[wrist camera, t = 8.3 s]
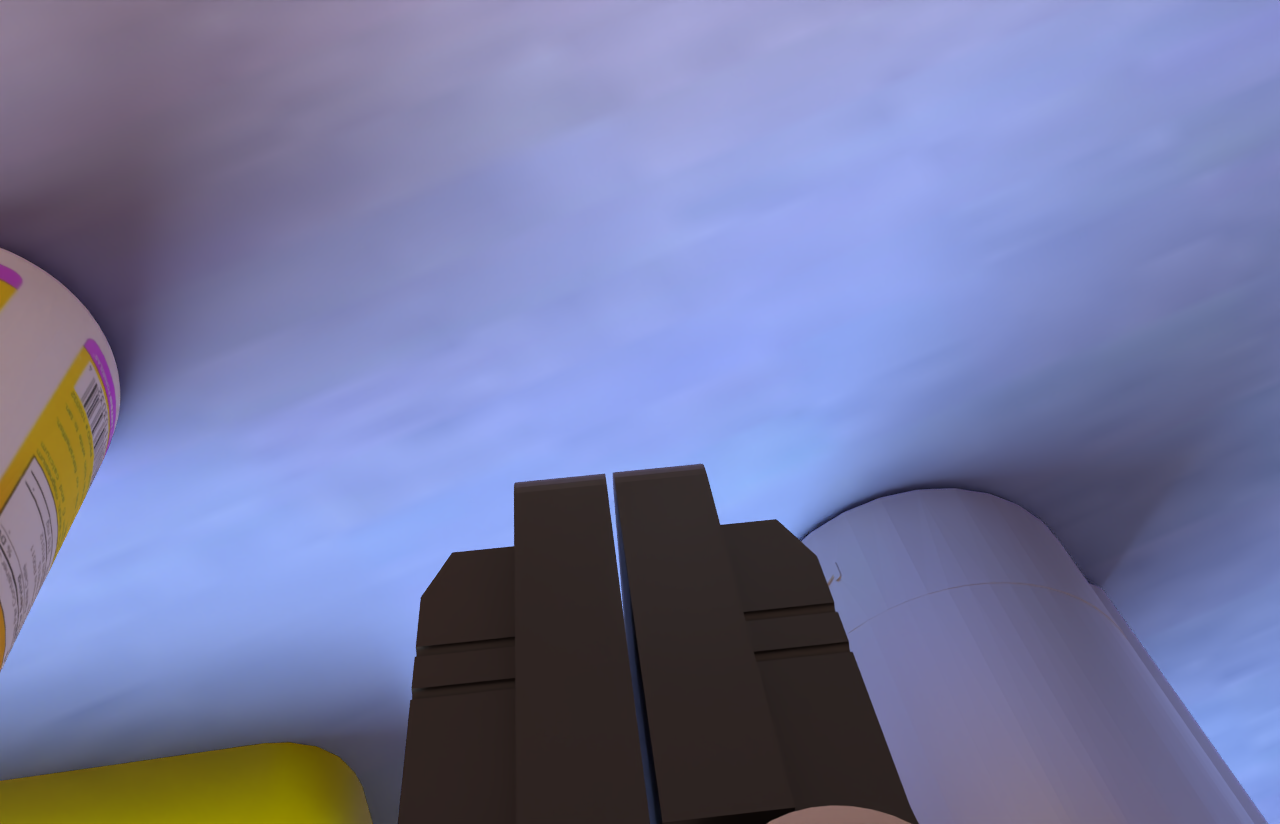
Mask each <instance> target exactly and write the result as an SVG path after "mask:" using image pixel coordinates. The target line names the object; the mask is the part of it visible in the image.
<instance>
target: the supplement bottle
mask: <svg viewBox="0 0 1280 824" xmlns="http://www.w3.org/2000/svg"><path fill="white" fill-rule="evenodd" d="M119 409H120V383H119V375H118V370H117V365H116V362H115V359H114V356H113V353H112V350H111V348H110V345H109V343H108V341H107V339H106V337H105V335H104V334H103V332H102V330H101V328H100V327H99V325H98V323H97V322H96V321H95V319H94V318H93V316H92V315H91V314H90V312H89V311H88V310H87V308H86V307H85V306H84V305H83V304H82V303H81V302H80V301H79V300H78V298H77V297H76V296H74V295H73V294H72V293H71V292H70V291H69V290H68V289H67V288H66V287H65V286H64V285H63V284H61V283H60V282H59V281H58V280H56V279H55V278H54V277H53V276H51V275H50V274H48V273H47V272H45V271H44V270H42V269H41V268H39V267H38V266H36V265H34V264H33V263H31V262H29V261H27V260H26V259H24V258H22V257H20V256H18V255H16V254H14V253H12V252H9V251H7V250H4V249H2V248H0V671H1V669H2V667H3V665H4V663H5V662H6V659H7V657H8V655H9V653H10V651H11V649H12V647H13V644H14V642H15V640H16V638H17V636H18V634H19V632H20V630H21V628H22V626H23V624H24V622H25V620H26V617H27V615H28V613H29V611H30V609H31V607H32V605H33V603H34V601H35V599H36V597H37V595H38V593H39V590H40V588H41V586H42V584H43V582H44V580H45V578H46V576H47V575H48V573H49V571H50V569H51V566H52V564H53V562H54V560H55V558H56V556H57V554H58V552H59V550H60V548H61V546H62V544H63V541H64V540H65V538H66V536H67V533H68V531H69V529H70V527H71V525H72V523H73V521H74V519H75V517H76V515H77V513H78V511H79V509H80V507H81V505H82V503H83V501H84V499H85V496H86V494H87V492H88V490H89V488H90V486H91V484H92V482H93V480H94V478H95V476H96V474H97V472H98V470H99V468H100V466H101V464H102V461H103V459H104V457H105V455H106V452H107V450H108V448H109V445H110V442H111V439H112V437H113V434H114V431H115V428H116V424H117V421H118V416H119Z"/></svg>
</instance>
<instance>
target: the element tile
mask: <svg viewBox="0 0 1280 824" xmlns="http://www.w3.org/2000/svg"><path fill="white" fill-rule="evenodd" d="M0 824H373V822H372V819H371V815H370V811H369V808H368V804H367V801H366V797H365V794H364V790H363V787H362V785H361V783H360V781H359V779H358V778H357V776H356V774H355V772H354V771H353V770H352V769H351V768H350V767H349V766H348V765H347V764H346V763H345V762H344V761H343V760H342V759H341V758H340V757H339V756H336V755H334V754H332V753H330V752H328V751H326V750H324V749H321V748H319V747H317V746H310V745H304V744H297V743H290V742H285V743H262V744H255V745H248V746H241V747H234V748H227V749H220V750H213V751H206V752H199V753H192V754H185V755H178V756H171V757H164V758H157V759H150V760H143V761H136V762H129V763H122V764H115V765H108V766H101V767H94V768H87V769H80V770H73V771H66V772H59V773H52V774H45V775H38V776H31V777H24V778H17V779H10V780H3V781H0Z"/></svg>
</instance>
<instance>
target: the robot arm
mask: <svg viewBox="0 0 1280 824" xmlns="http://www.w3.org/2000/svg"><path fill="white" fill-rule="evenodd" d="M613 489H614V502H615V514H616V527H617V539H618V551H619V563H620V576H621V588H622V600H623V609H622V601H621V593H620V585H619V577H618V570H617V562H616V554H615V546H614V539H613V531H612V523H611V515H610V508H609V500H608V492H607V484H606V477H605V474H598V475H588V476H578V477H567V478H557V479H547V480H537V481H527V482H517V483H515V484H514V546H513V547H503V548H493V549H484V550H474V551H464V552H454V553H452V554H451V555H450V557H449V558H448V560H447V561H446V562H445V564H444V565H443V567H442V568H441V570H440V571H439V572H438V574H437V575H436V577H435V578H434V580H433V581H432V582H431V584H430V585H429V587H428V588H427V589H426V591H425V592H424V594H423V595H422V597H421V602H420V611H419V621H418V631H417V641H416V653H417V657H415V661H414V670H413V680H412V700H410V710H409V719H408V729H407V739H406V749H405V759H404V769H403V778H402V788H401V798H400V808H399V818H398V824H1268V822H1267V821H1266V820H1265V818H1264V817H1263V815H1262V814H1261V813H1260V811H1259V810H1258V808H1257V807H1256V806H1255V804H1254V803H1253V801H1252V800H1251V798H1250V797H1249V796H1248V794H1247V793H1246V791H1245V790H1244V789H1243V787H1242V786H1241V784H1240V783H1239V781H1238V780H1237V779H1236V777H1235V776H1234V774H1233V773H1232V772H1231V770H1230V769H1229V767H1228V766H1227V764H1226V763H1225V762H1224V760H1223V759H1222V757H1221V756H1220V755H1219V753H1218V752H1217V750H1216V749H1215V747H1214V746H1213V745H1212V743H1211V742H1210V740H1209V739H1208V738H1207V736H1206V735H1205V733H1204V732H1203V730H1202V729H1201V728H1200V726H1199V725H1198V723H1197V722H1196V721H1195V719H1194V718H1193V716H1192V715H1191V713H1190V712H1189V711H1188V709H1187V708H1186V706H1185V705H1184V704H1183V702H1182V701H1181V699H1180V698H1179V696H1178V695H1177V694H1176V692H1175V691H1174V689H1173V688H1172V687H1171V685H1170V684H1169V682H1168V681H1167V680H1166V678H1165V677H1164V675H1163V674H1162V672H1161V671H1160V670H1159V668H1158V667H1157V665H1156V664H1155V663H1154V661H1153V660H1152V658H1151V657H1150V655H1149V654H1148V653H1147V651H1146V650H1145V648H1144V647H1143V646H1142V644H1141V643H1140V641H1139V640H1138V638H1137V637H1136V636H1135V634H1134V633H1133V631H1132V630H1131V629H1130V627H1129V626H1128V624H1127V623H1126V621H1125V620H1124V619H1123V617H1122V616H1121V614H1120V613H1119V612H1118V610H1117V609H1116V607H1115V606H1114V604H1113V603H1112V602H1111V600H1110V599H1109V597H1108V596H1107V595H1106V593H1105V592H1104V590H1103V589H1102V588H1100V587H1098V586H1096V585H1093V584H1090V583H1088V582H1087V580H1086V579H1085V577H1084V576H1083V574H1082V573H1081V572H1080V570H1079V569H1078V567H1077V566H1076V564H1075V563H1074V561H1073V560H1072V559H1071V557H1070V556H1069V554H1068V553H1067V551H1066V550H1065V549H1064V547H1063V546H1062V544H1061V543H1060V542H1059V540H1058V539H1057V538H1056V537H1055V536H1054V534H1053V533H1052V532H1051V531H1050V530H1049V528H1048V527H1047V526H1046V525H1045V524H1044V522H1043V521H1041V520H1040V519H1038V518H1037V517H1035V516H1034V515H1032V514H1031V513H1030V512H1028V511H1027V510H1025V509H1024V508H1022V507H1021V506H1019V505H1018V504H1015V503H1012V502H1010V501H1007V500H1004V499H1002V498H999V497H997V496H994V495H991V494H989V493H983V492H976V491H969V490H963V489H956V488H945V489H921V490H913V491H909V492H904V493H899V494H895V495H890V496H886V497H881V498H878V499H875V500H873V501H871V502H868V503H866V504H863V505H861V506H858V507H856V508H853V509H851V510H848V511H846V512H843V513H842V514H840V515H839V516H837V517H835V518H834V519H832V520H830V521H829V522H827V523H825V524H824V525H822V526H821V527H819V528H817V529H816V530H814V531H812V532H811V533H810V534H809V535H808V536H807V537H805V538H804V539H803V540H802V541H800V540H799V539H798V538H796V537H795V536H794V535H793V534H792V533H791V532H790V531H789V530H788V529H786V528H785V527H784V526H783V525H782V524H781V523H780V522H779V521H777V520H776V519H775V520H765V521H755V522H745V523H735V524H726V525H720V523H719V519H718V515H717V511H716V507H715V504H714V500H713V496H712V492H711V489H710V485H709V481H708V477H707V474H706V470H705V467H704V465H703V464H695V465H685V466H675V467H665V468H655V469H645V470H635V471H625V472H614V473H613ZM623 613H624V616H623Z"/></svg>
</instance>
